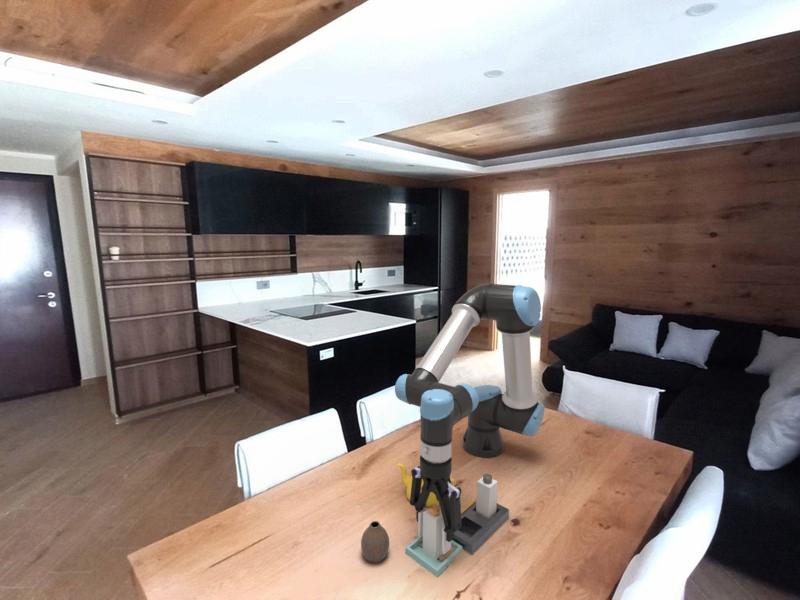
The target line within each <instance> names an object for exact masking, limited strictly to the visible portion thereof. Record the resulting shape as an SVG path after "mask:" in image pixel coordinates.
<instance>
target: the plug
mask: <svg viewBox="0 0 800 600" xmlns="http://www.w3.org/2000/svg"><path fill="white" fill-rule="evenodd" d="M444 526H445V525H444V521H443V517H442V513H441V509H440V506H439V505H438V504H431V505H430V507H428V508H427V510H426V511H425V512H424V513H423V540H422V547H423V554H425V555H426V556H427V557H429V558H430V559H431V560H433V561H434V562H436V561H437V560H438V559H440V558H439V557H441V556H442V555H444V554H443V553H442V528H443V527H444Z"/></svg>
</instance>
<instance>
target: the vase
mask: <svg viewBox="0 0 800 600" xmlns="http://www.w3.org/2000/svg"><path fill="white" fill-rule="evenodd" d="M360 547H361V549H360V550H361V552H362V556H364V558H365V559H366V561H368V562H369V563H375V564H376V563H379V562H381V561H383V560H384V559H385V558H386V556H387V555H388V553H389V550H390V538H389V534H388V531H387V530H386V528H384V527H383V525H381V523H380V522H379V521H378V520H373V521H371V522H370V523H369V525H368V527H367V528H365V530H364V532H363V533H362V536H361V540H360Z"/></svg>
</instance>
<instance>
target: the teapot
mask: <svg viewBox="0 0 800 600" xmlns="http://www.w3.org/2000/svg"><path fill="white" fill-rule="evenodd" d="M396 465H397V466H398V467H399V468H400V471H401V479H402V480H401V481H402V484H403V485H404V486H405V488H406V491H405V492H406V497H407V499H408V501H409V502H410V496H411V487H412V474H411V475H410V476H409V475H408V473H407V467H406V466H405V465H404V464H402V463H400V462H396ZM418 466H420V464H419V465H417V466H416V467H418ZM450 480H451V484H452V485H453V486H454V487H455V479H454V478H453V477H450ZM422 486H423V479H422V484H421V488H422ZM421 491H422V490H421ZM420 494H421V493H420ZM426 504H427V505H426V506H425V507H424V508H430V505H431V504H438V505H439V501H437V499H436V495H435V494H434V493H433V492H430V495H429V497H428V500H427V502H426ZM439 506H440V505H439Z"/></svg>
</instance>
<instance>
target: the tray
mask: <svg viewBox="0 0 800 600" xmlns="http://www.w3.org/2000/svg"><path fill="white" fill-rule="evenodd" d="M421 542H423V536H422V537H421V538H420V537H418V536H417V538H415V539H414V540H412V542H410V543H409V544H408V545H406V546H405V550H404V553H405V554H406V555H407V556H408V557H409V558H411V559H412V560H414V561H415V562H416V563H418V564H419V565H420V566H422V567H423V568H424V569H425V570H427V572H429V573H430V574H431V575H434V577H436V578H438V577H440V575H442V573H444V571H446V569H448V568H449V566H450V565H449V564H450V563H452V562H453V560H455V558H456V557H457V556H459V555H460V554H461V553H462V552H463V550H464V549H463V547H462V546H461V545H459V544H458V543H456V542H454V541H453V540H452V541H451V548H452V547H453V548H454V549H455V550H454V551H452V552H451V553H450V554H449V556H447V557H446V558H445V559H444V560H442V559H440V558H439V559H438V560H437V561H436V562H434V561H433V560H431V559H430V558H429V557H427V556H426V555H425V554H423V545H421V544H420V543H421Z"/></svg>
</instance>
